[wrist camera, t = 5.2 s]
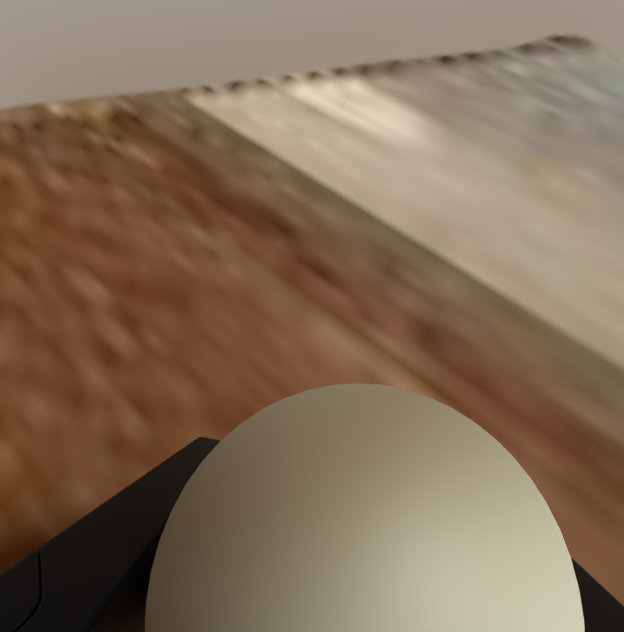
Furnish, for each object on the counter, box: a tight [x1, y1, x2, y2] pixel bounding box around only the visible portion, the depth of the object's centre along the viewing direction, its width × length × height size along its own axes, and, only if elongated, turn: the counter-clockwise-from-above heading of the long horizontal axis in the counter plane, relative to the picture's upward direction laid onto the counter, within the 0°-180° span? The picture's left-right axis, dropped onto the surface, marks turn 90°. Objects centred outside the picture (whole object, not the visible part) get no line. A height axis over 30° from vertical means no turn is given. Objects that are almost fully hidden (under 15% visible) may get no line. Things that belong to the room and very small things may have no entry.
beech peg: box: [145, 383, 585, 632], centre depth 10 cm, size 4×4×10 cm
